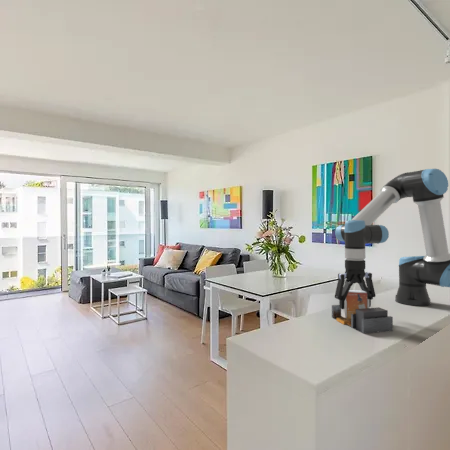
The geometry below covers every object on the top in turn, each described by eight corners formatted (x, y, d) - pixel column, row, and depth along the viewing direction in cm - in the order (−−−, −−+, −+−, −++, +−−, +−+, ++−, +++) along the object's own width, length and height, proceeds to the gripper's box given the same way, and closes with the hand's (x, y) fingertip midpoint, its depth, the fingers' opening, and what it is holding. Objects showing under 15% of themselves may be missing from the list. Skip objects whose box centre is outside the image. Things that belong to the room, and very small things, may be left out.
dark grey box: (379, 326, 119) (379, 307, 119) (387, 329, 115) (387, 310, 115) (355, 328, 117) (355, 309, 117) (363, 332, 113) (363, 312, 113)
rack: (357, 317, 133) (357, 303, 133) (392, 333, 114) (392, 316, 114) (330, 319, 130) (330, 305, 130) (361, 336, 111) (361, 319, 111)
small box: (345, 319, 123) (345, 292, 123) (343, 315, 129) (343, 289, 129) (367, 320, 122) (367, 292, 122) (364, 316, 127) (364, 289, 127)
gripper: (372, 257, 131) (373, 311, 131) (324, 259, 126) (325, 315, 126) (385, 259, 124) (386, 316, 124) (335, 261, 119) (335, 321, 119)
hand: (355, 316), depth 125 cm, fingers closed on small box, 9 cm apart
